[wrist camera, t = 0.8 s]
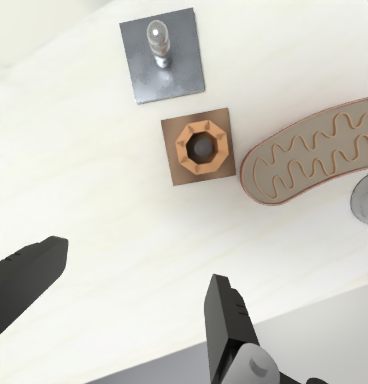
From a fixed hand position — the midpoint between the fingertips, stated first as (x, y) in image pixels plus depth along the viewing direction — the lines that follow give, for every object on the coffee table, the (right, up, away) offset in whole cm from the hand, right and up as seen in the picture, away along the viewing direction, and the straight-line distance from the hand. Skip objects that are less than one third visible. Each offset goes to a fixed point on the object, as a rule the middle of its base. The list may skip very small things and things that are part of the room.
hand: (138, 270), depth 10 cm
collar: (+5, +11, +18) cm, 22 cm away
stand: (+5, +11, +19) cm, 23 cm away
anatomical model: (+21, +11, +20) cm, 31 cm away
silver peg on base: (0, +23, +17) cm, 29 cm away
